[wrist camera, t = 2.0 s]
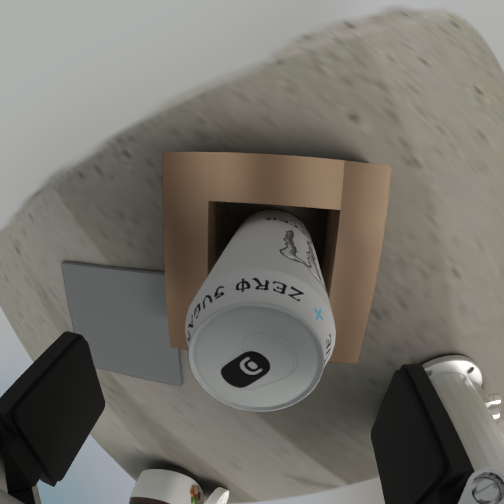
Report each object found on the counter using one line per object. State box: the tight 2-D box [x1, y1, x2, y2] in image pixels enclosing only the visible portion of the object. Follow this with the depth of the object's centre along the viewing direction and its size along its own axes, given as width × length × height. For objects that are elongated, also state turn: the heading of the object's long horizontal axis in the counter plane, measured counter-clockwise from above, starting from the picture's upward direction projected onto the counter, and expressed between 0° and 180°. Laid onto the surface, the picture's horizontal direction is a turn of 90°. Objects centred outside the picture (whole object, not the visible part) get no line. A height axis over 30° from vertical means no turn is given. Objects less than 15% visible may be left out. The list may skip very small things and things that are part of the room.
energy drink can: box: [185, 210, 336, 412], centre depth 18 cm, size 6×6×15 cm
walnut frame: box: [163, 152, 392, 363], centre depth 22 cm, size 14×14×5 cm
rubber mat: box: [62, 261, 183, 386], centre depth 28 cm, size 12×12×1 cm
